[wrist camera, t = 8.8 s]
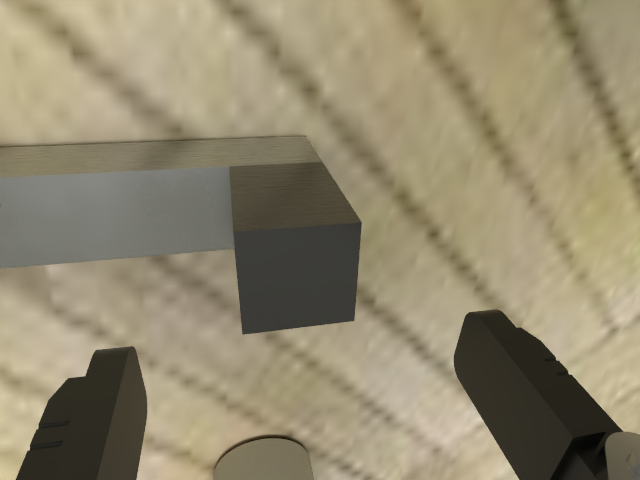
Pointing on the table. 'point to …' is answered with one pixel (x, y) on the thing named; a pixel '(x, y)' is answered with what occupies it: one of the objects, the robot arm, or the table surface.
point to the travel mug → (265, 461)
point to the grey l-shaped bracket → (192, 217)
